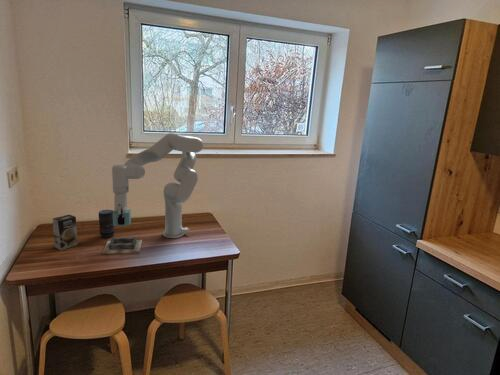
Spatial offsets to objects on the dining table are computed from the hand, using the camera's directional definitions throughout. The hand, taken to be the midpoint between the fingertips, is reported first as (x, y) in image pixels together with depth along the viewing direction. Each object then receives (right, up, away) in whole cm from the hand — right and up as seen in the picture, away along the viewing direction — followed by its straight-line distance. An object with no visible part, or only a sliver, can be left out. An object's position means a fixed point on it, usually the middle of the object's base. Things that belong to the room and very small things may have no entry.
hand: (122, 222), depth 173 cm
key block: (0, -1, 0) cm, 1 cm away
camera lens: (-15, -10, +17) cm, 24 cm away
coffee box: (-30, -13, +1) cm, 33 cm away
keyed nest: (-1, -14, +4) cm, 14 cm away
